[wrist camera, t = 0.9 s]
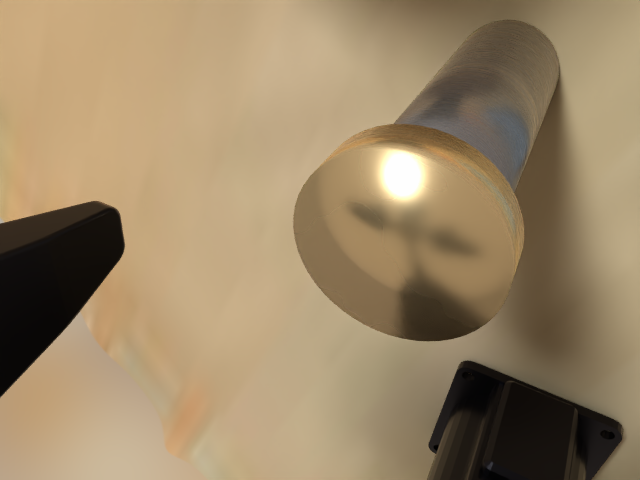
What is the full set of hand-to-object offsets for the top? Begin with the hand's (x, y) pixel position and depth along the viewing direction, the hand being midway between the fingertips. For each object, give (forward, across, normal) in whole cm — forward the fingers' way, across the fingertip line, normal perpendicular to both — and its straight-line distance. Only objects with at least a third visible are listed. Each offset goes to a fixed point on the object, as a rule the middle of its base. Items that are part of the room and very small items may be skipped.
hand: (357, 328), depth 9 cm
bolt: (+11, 0, 0) cm, 11 cm away
